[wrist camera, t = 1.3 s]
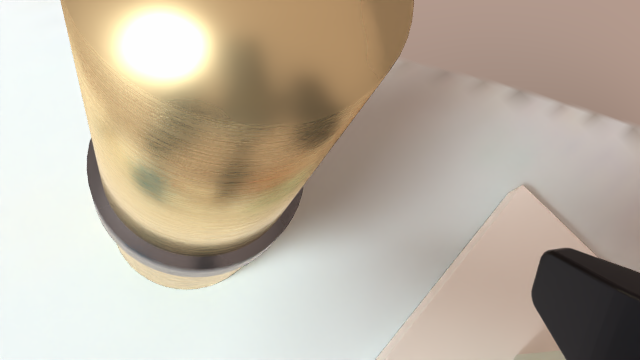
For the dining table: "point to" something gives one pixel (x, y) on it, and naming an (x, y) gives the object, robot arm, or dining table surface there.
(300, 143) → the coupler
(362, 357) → the dining table surface
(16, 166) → the dining table surface
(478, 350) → the shaft mount
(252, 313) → the dining table surface
